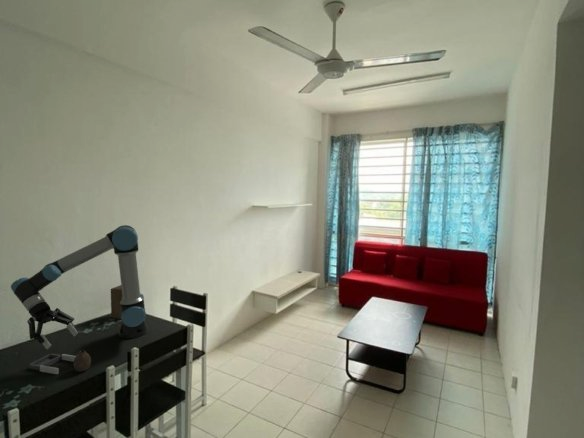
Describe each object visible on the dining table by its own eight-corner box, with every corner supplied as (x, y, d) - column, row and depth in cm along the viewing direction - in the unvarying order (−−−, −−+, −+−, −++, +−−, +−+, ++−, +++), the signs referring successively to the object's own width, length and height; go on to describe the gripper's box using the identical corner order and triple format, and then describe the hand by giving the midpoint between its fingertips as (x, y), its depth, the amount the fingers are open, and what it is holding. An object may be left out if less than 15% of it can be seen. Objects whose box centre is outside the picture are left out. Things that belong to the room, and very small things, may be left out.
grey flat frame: (28, 368, 148) (28, 364, 148) (51, 357, 159) (50, 353, 159) (40, 370, 147) (40, 366, 147) (62, 359, 157) (62, 355, 157)
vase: (88, 364, 153) (87, 346, 153) (93, 369, 149) (93, 351, 148) (71, 370, 148) (70, 351, 147) (76, 375, 144) (76, 356, 143)
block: (123, 319, 208) (123, 289, 207) (110, 318, 210) (109, 288, 209) (134, 314, 218) (133, 285, 216) (121, 312, 220) (120, 284, 218)
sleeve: (39, 371, 146) (39, 366, 146) (63, 358, 158) (63, 354, 157) (57, 374, 144) (57, 369, 144) (79, 361, 155) (79, 356, 155)
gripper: (57, 302, 164) (82, 334, 162) (3, 320, 140) (31, 358, 138) (65, 293, 163) (90, 325, 160) (12, 310, 138) (40, 348, 136)
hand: (63, 340), depth 149 cm, fingers open, 13 cm apart
